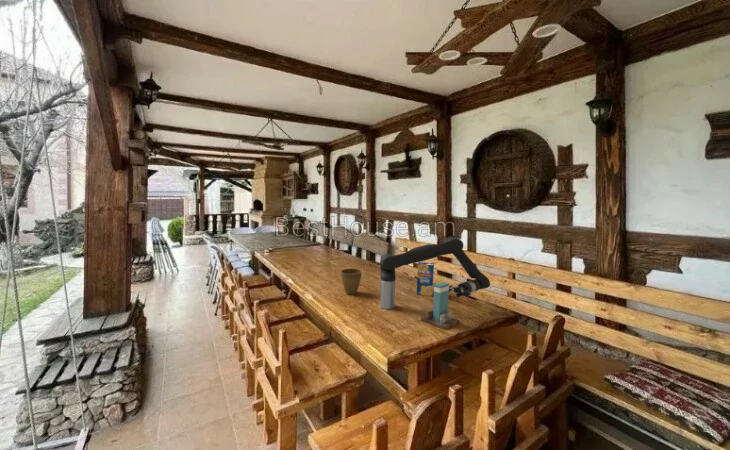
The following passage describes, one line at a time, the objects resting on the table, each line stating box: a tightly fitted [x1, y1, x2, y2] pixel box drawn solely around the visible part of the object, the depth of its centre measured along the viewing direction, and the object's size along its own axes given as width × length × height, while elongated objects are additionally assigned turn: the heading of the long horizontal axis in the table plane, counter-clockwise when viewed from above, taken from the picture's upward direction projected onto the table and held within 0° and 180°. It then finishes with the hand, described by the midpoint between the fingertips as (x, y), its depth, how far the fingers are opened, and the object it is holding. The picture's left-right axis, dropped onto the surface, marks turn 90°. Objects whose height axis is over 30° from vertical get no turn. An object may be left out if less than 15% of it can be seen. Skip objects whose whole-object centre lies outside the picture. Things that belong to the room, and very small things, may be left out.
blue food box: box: [416, 261, 435, 297], centre depth 223 cm, size 7×11×22 cm, turn 74°
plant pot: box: [340, 268, 363, 295], centre depth 223 cm, size 15×15×16 cm
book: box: [432, 281, 450, 322], centre depth 174 cm, size 8×4×20 cm, turn 130°
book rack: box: [420, 309, 461, 331], centre depth 175 cm, size 14×16×6 cm
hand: (450, 293), depth 179 cm, fingers open, 8 cm apart
